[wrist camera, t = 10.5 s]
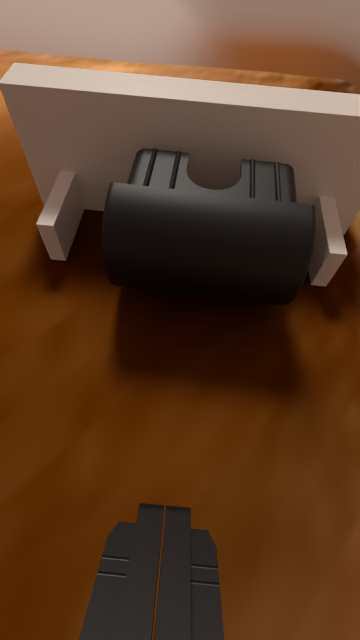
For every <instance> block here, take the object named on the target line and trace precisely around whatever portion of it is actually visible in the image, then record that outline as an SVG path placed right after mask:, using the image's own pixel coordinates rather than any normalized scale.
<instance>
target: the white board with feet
mask: <svg viewBox="0 0 360 640" xmlns="http://www.w3.org/2000/svg"><path fill="white" fill-rule="evenodd" d="M0 89H1V91H2V94H3V97H4V99H5V102H6V105H7V107H8V110H9V113H10V116H11V118H12V121H13V124H14V126H15V129H16V132H17V134H18V137H19V140H20V142H21V145H22V148H23V151H24V153H25V156H26V159H27V161H28V164H29V167H30V169H31V172H32V175H33V178H34V180H35V183H36V186H37V188H38V191H39V194H40V196H41V199H42V202H43V205H45V206H44V208H43V210H42V212H41V215H40V217H39V219H38V221H37V223H36V225H37V228H38V230H39V232H40V235H41V237H42V239H43V242H44V244H45V247H46V249H47V251H48V254H49V256H50V259H53V260H63V261H66V259H67V256H68V254H69V251H70V248H71V245H72V242H73V240H74V237H75V234H76V231H77V229H78V226H79V223H80V220H81V217H82V215H83V212H84V209H87V210H97V211H104V205H105V200H106V195H107V192H108V188H109V185H110V184H111V183H113V182H115V183H124V184H127V182H128V179H129V176H130V173H131V169H132V166H133V163H134V160H135V157H136V154H137V152H138V151H139V150H141V149H146V148H147V149H153V148H156V149H158V150H165V151H174V152H176V151H181V152H183V153H190V154H189V164H188V170H187V175H188V177H189V179H190V180H191V181H192V182H193V183H195V184H196V185H198V186H200V187H203V188H206V189H211V190H223V189H228V188H230V187H233V186H234V185H236V184H237V183H238V182H239V180H240V165H241V160H242V159H247V160H251V159H255V160H256V161H265V162H279V163H283V164H288V165H290V166H292V168H293V170H294V178H295V188H296V198H297V203H302V204H311V205H314V206H315V209H316V233H315V242H314V248H313V253H312V257H311V262H310V266H309V269H308V270H309V277H310V284H311V285H315V286H325V287H326V286H327V284H328V283H329V281H330V280H331V278H332V277H333V276H334V274H335V273H336V271H337V270H338V268H339V267H340V265H341V264H342V262H343V261H344V259H345V258H346V256H347V250H346V246H345V241H344V237H343V234H345V233H346V231H347V229H348V228H349V226H350V225H351V223H352V221H353V220H354V218H355V216H356V215H357V213H358V212H359V210H360V95H359V94H348V93H338V92H327V91H316V90H305V89H294V88H283V87H272V86H262V85H251V84H240V83H229V82H218V81H207V80H196V79H186V78H175V77H164V76H153V75H142V74H131V73H120V72H110V71H99V70H88V69H77V68H66V67H55V66H44V65H33V64H23V63H14V64H13V65H12V66H11V67H10V69H9V70H8V71H7V73H6V74H5V75H4V76H3V78H2V79H1V80H0Z"/></svg>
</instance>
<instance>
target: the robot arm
mask: <svg viewBox="0 0 360 640" xmlns="http://www.w3.org/2000/svg"><path fill="white" fill-rule="evenodd" d="M163 513H164V505H154V504H144V503H140V506H139V510H138V516H137V521H136V523H127V522H119V523H118V524H117V525H116V527H115V528H114V529H113V530H112V532H111V533H110V534H109V536H108V537H107V541H106V544H105V548H104V552H103V555H102V559H101V562H100V566H99V570H98V575H97V577H96V580H95V584H94V587H93V591H92V595H91V598H90V602H89V605H88V609H87V613H86V616H85V620H84V623H83V627H82V631H81V634H80V638H79V640H152V629H153V619H154V609H155V598H156V588H157V578H158V567H159V557H160V546H161V535H162V524H163ZM154 640H224V632H223V620H222V609H221V597H220V587H219V574H218V562H217V550H216V546H215V544H214V542H213V540H212V538H211V536H210V534H209V532H208V530H200V529H191V509H190V508H186V507H176V506H166V515H165V526H164V537H163V547H162V558H161V569H160V580H159V591H158V602H157V614H156V625H155V636H154Z"/></svg>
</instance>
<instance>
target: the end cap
mask: <svg viewBox="0 0 360 640" xmlns="http://www.w3.org/2000/svg"><path fill="white" fill-rule="evenodd" d="M189 154H190V153H183V152H181V151H176V152H174V151H165V150H158V149H156V148H153V149H147V148H146V149H141V150H139V151H138V152H137V154H136V157H135V160H134V163H133V166H132V169H131V173H130V176H129V179H128V182H127V184H124V183H115V182H113V183H111V184H110V185H109V188H108V192H107V195H106V200H105V205H104V213H103V222H102V257H103V265H104V270H105V273H106V276H107V278H108V280H109V282H110V283H112V284H113V285H117V286H125V287H134V288H142V289H150V290H159V291H167V292H175V293H184V294H192V295H200V296H208V297H217V298H225V299H233V300H242V301H250V302H258V303H267V304H275V305H287V304H290V303H291V302H292V301H293V300H294V299H295V298H296V296H297V295H298V293H299V291H300V289H301V287H302V285H303V283H304V281H305V278H306V275H307V272H308V269H309V266H310V262H311V257H312V253H313V248H314V242H315V233H316V209H315V206H314V205H311V204H302V203H297V198H296V188H295V178H294V170H293V168H292V166H290V165H288V164H283V163H279V162H265V161H256V160H255V159H251V160H247V159H242V160H241V165H240V180H239V182H238V183H237V184H236V185H234V186H233V187H230V188H228V189H223V190H211V189H206V188H203V187H200V186H198V185H196V184H195V183H193V182H192V181H191V180H190V179H189V177H188V175H187V170H188V164H189Z"/></svg>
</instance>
